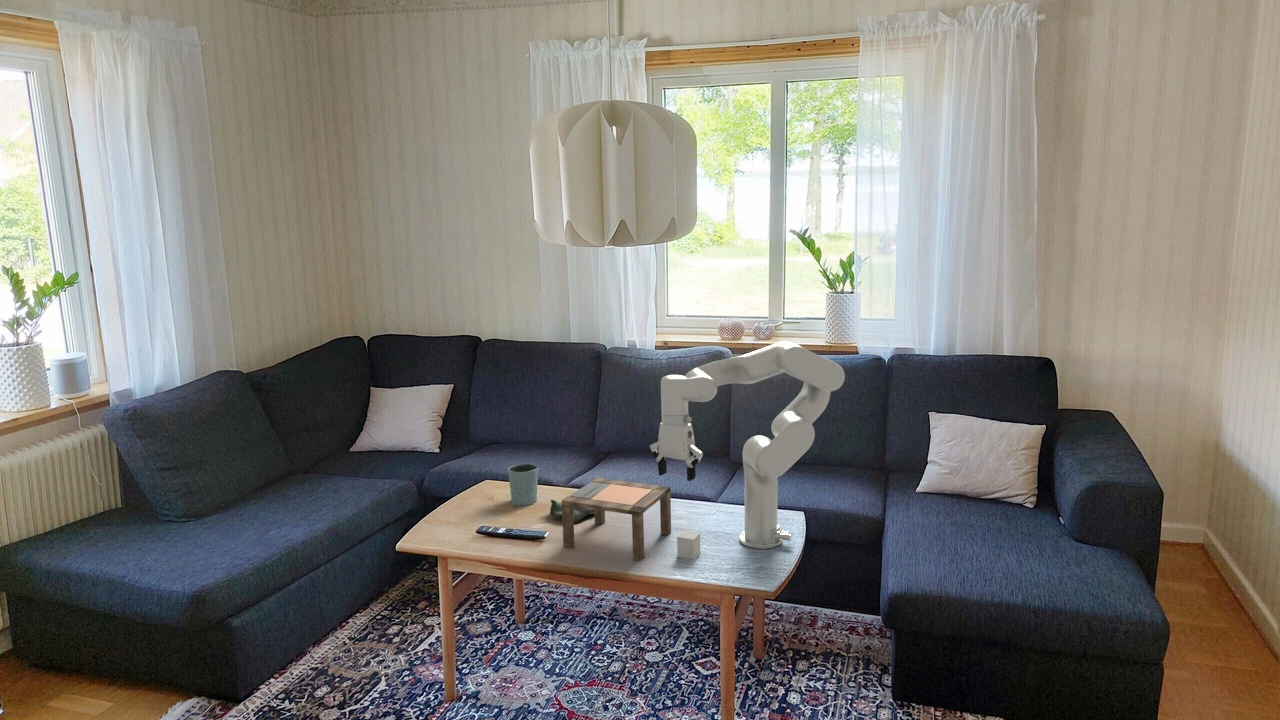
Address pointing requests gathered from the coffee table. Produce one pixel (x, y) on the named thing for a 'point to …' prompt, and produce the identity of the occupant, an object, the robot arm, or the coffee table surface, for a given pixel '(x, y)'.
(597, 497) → the trapdoor
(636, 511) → the miniature wooden side table
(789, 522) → the coffee table surface
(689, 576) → the coffee table surface
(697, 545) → the light gray block
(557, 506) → the decorative rock
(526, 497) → the teal cup
